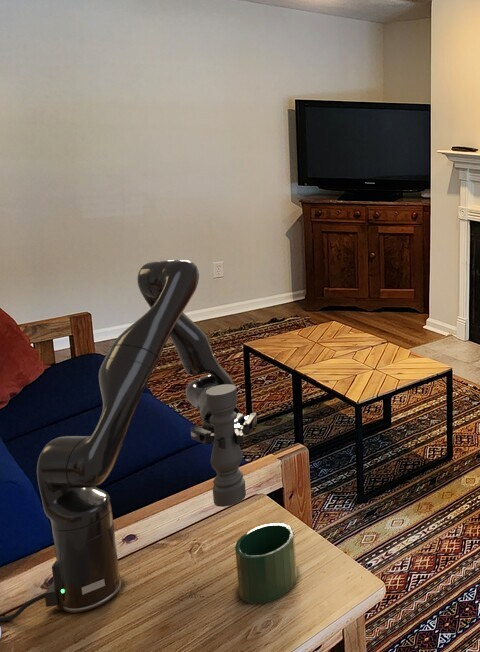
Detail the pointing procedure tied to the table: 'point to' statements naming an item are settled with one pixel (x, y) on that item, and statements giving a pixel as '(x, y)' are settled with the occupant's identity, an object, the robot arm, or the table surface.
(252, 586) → the pot
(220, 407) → the candle holder
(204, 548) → the table surface
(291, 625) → the table surface
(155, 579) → the table surface
